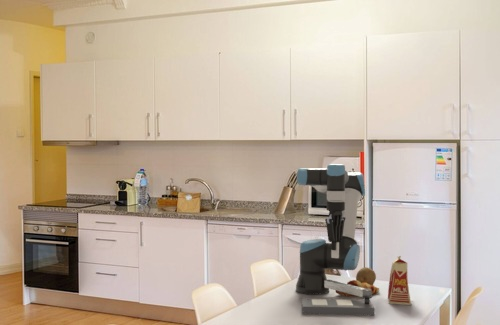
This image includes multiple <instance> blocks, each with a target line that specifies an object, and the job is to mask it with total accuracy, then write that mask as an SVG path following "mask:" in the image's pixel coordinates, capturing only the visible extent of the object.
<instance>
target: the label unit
mask: <svg viewBox="0 0 500 325" xmlns="http://www.w3.org/2000/svg"><path fill="white" fill-rule="evenodd" d="M301 310H302V315H331V316H332V315H333V316H337V315H338V316H375V310H376V309H375V306H374V305H373V302H372V301H371V298H369V299H367V298H363V299H361V298H360V299H358V298H357V299H351V298H306V297H305V298H301Z"/></svg>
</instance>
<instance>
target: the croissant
mask: <svg viewBox="0 0 500 325" xmlns="http://www.w3.org/2000/svg"><path fill="white" fill-rule="evenodd" d="M346 284H349V285H353V286H357V287H361V288H365V289H371V290H372V295H373V294H377V293H380V287H377V286H375V284H373V285H370V284H368V283H366V282H364V283H361V282H359V281H357V280H356V279H355V280H354V279H353V280H349V281H348V282H347V283H346ZM334 291H335V293H336V294H338V295H340V296H343V297H347V298H350V297H353V298H359V297H360V296H356V295H352V294H348V293H345V292H341V291H337V290H334ZM360 298H361V297H360Z"/></svg>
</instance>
